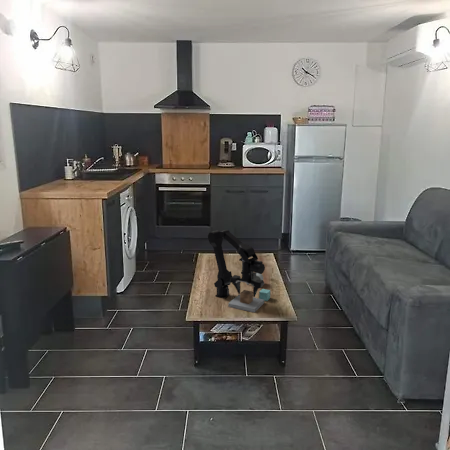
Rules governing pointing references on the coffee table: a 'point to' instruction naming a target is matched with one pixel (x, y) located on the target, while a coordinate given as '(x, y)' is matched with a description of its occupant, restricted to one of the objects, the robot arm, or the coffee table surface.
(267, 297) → the teal block
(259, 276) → the ceramic mug
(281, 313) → the coffee table surface
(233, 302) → the base plate
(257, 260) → the robot arm
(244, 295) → the walnut block
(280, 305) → the coffee table surface
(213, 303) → the coffee table surface
